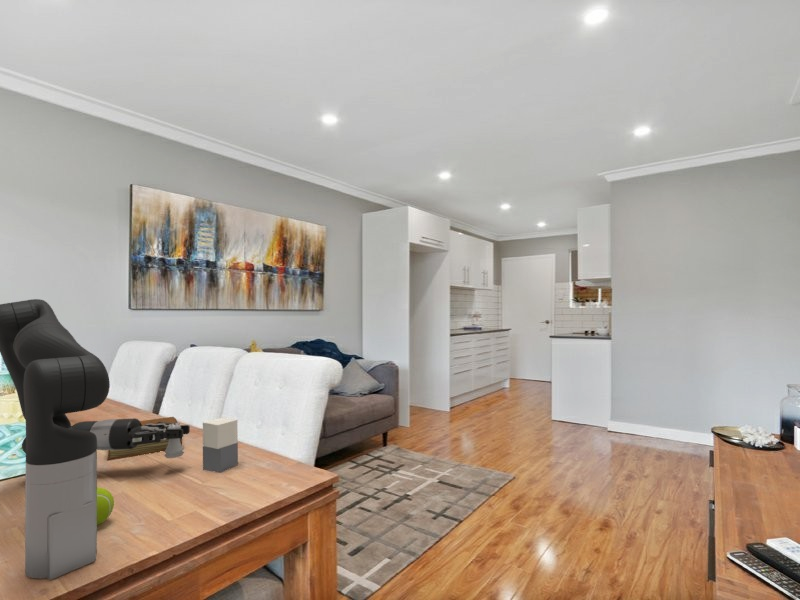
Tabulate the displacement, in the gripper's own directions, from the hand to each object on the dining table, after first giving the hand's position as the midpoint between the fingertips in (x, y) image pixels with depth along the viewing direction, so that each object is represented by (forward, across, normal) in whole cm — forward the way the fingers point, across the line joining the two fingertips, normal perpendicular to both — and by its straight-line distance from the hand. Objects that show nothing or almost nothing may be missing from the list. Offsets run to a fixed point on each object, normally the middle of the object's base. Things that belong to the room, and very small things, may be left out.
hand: (185, 431), depth 111 cm
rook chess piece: (-3, 0, +6) cm, 7 cm away
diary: (-23, +26, +10) cm, 36 cm away
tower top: (+8, +2, +4) cm, 9 cm away
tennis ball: (-6, -28, +11) cm, 30 cm away
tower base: (+8, +2, +10) cm, 13 cm away
